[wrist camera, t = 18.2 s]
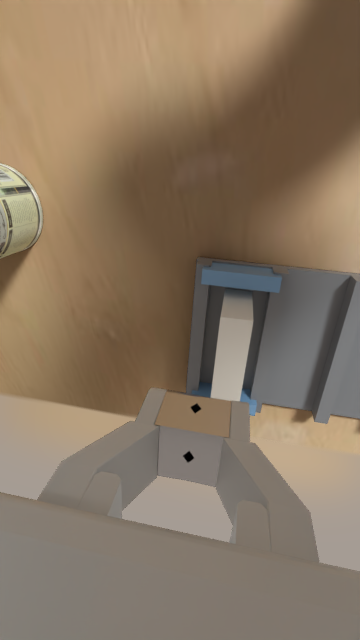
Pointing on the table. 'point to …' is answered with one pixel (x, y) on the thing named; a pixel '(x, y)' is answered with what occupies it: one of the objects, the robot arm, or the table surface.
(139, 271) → the table surface
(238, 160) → the table surface
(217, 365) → the plug block
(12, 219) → the coffee can
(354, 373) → the board
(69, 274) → the table surface
